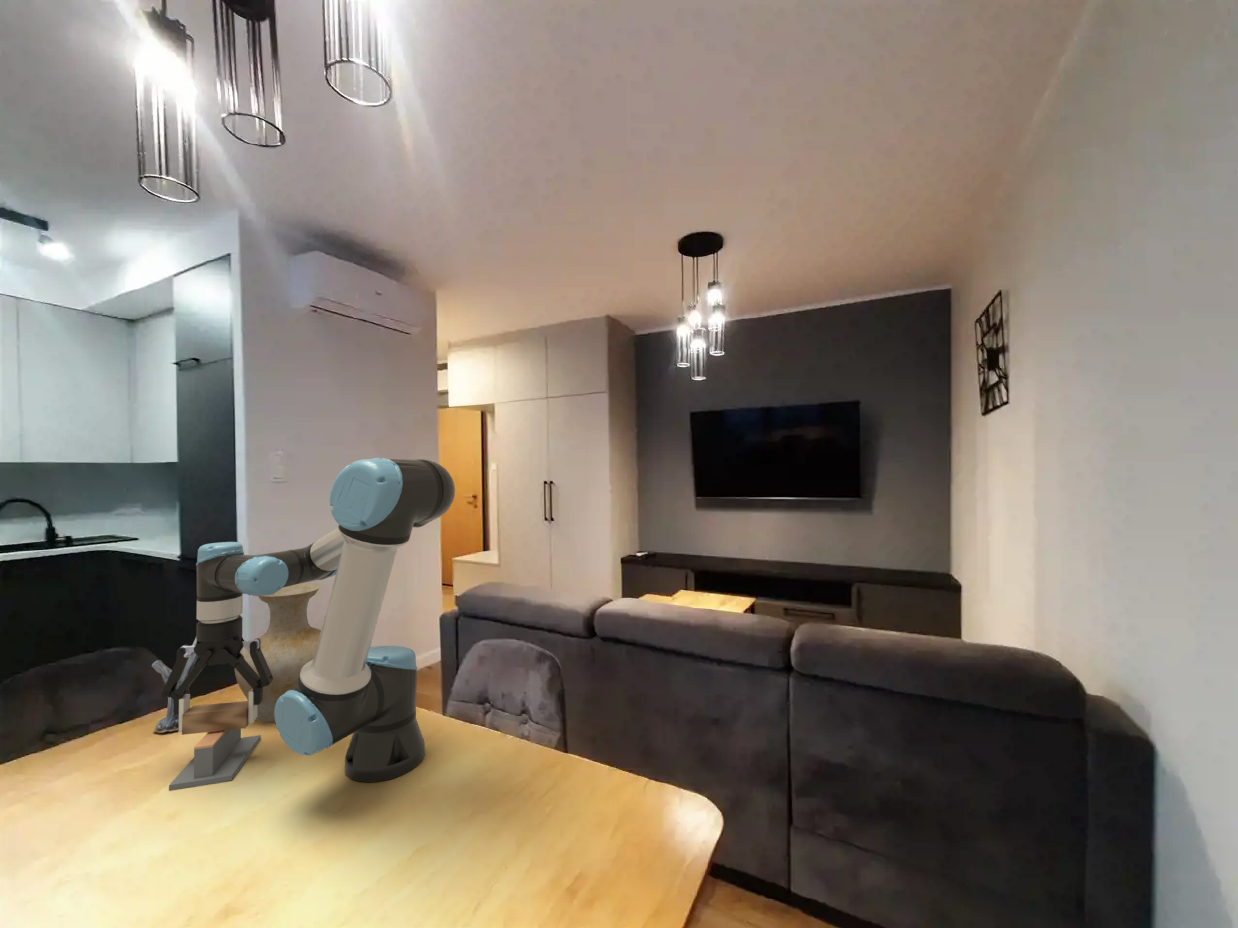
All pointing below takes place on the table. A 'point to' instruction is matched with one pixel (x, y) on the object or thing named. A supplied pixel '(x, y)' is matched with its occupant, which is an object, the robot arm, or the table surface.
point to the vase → (284, 645)
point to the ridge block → (216, 759)
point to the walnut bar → (215, 717)
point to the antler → (172, 720)
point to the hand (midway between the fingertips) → (219, 724)
